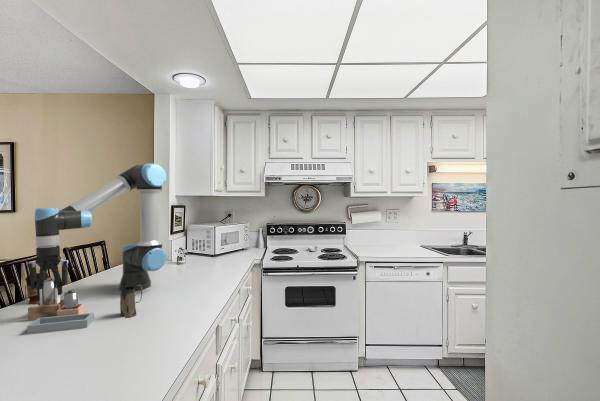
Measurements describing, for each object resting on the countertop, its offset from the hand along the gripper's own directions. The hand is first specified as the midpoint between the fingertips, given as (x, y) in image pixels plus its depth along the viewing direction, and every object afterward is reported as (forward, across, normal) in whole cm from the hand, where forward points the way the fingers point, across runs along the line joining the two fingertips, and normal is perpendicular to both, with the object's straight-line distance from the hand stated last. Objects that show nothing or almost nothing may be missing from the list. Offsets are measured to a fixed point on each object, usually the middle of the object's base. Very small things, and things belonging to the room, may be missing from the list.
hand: (50, 303), depth 131 cm
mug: (+6, -31, +10) cm, 33 cm away
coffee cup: (+5, +14, -23) cm, 28 cm away
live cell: (+1, 0, 0) cm, 1 cm away
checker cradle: (+5, 0, 0) cm, 5 cm away
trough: (+5, -10, +16) cm, 19 cm away
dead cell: (+4, -10, +7) cm, 13 cm away
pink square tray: (+5, -10, +7) cm, 13 cm away
